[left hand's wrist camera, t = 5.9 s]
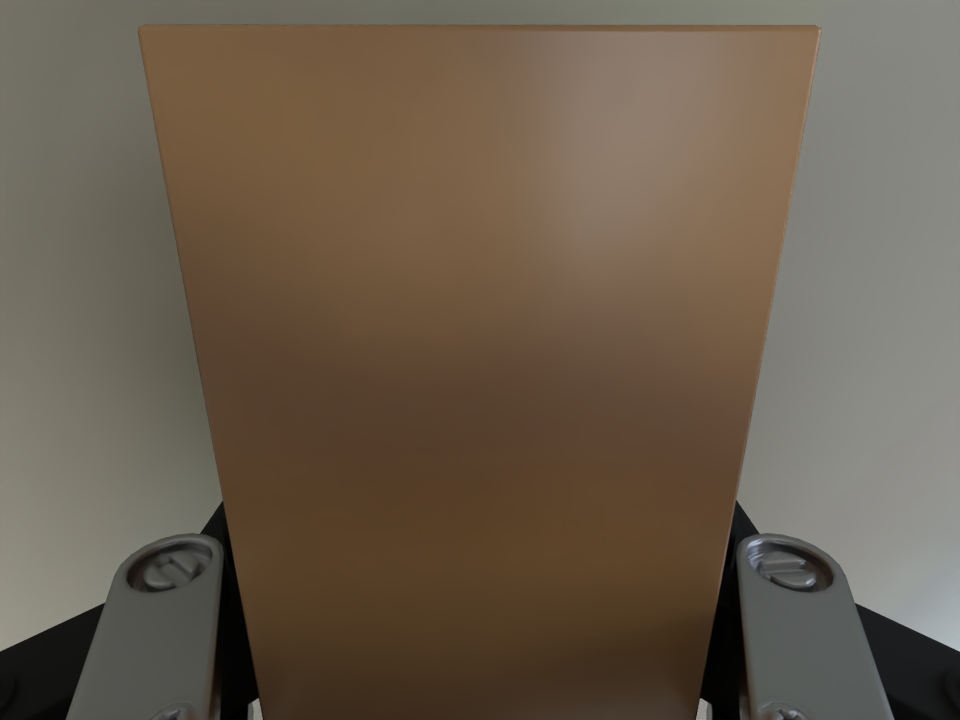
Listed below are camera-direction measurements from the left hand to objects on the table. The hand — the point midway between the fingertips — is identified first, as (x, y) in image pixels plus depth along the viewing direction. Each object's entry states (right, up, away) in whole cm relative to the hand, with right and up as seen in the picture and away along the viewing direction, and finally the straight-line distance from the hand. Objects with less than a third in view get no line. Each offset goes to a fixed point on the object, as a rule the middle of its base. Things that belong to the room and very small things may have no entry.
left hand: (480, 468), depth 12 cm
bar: (0, -21, +11) cm, 24 cm away
